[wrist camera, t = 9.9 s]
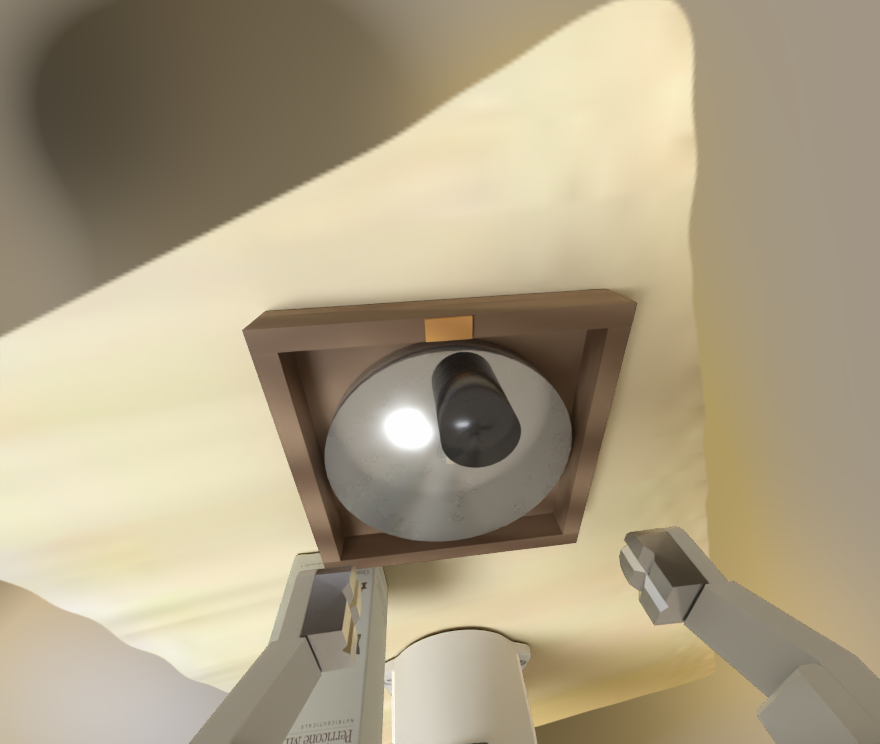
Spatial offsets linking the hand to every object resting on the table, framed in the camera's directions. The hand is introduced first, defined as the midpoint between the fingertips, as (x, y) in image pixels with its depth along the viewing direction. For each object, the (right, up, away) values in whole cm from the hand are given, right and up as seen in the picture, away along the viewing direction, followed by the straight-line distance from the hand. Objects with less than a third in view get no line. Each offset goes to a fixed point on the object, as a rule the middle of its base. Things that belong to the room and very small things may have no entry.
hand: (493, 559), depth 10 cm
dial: (-1, 0, +13) cm, 13 cm away
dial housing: (-1, +1, +14) cm, 14 cm away
